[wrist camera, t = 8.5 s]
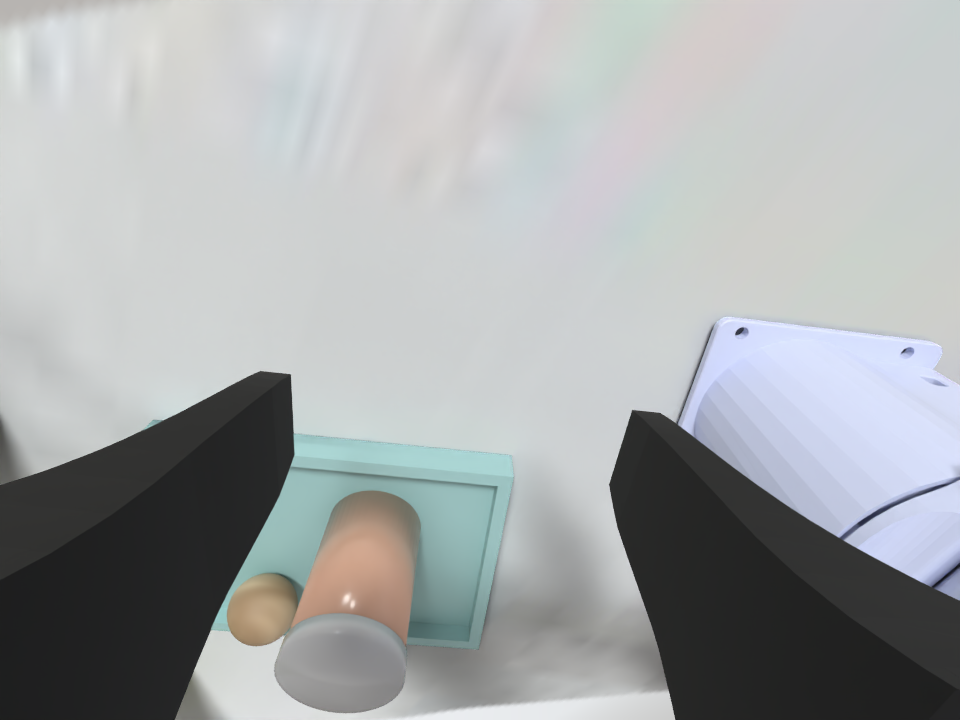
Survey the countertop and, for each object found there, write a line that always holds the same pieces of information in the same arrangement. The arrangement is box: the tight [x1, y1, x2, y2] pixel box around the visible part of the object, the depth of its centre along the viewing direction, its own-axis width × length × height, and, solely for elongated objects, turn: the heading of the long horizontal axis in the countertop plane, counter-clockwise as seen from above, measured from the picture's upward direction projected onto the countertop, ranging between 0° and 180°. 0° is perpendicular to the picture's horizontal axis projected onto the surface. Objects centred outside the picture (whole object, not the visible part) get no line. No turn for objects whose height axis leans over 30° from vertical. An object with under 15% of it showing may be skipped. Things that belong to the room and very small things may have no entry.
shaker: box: [274, 490, 421, 713], centre depth 21 cm, size 5×5×7 cm
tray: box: [144, 420, 514, 650], centre depth 25 cm, size 16×12×2 cm
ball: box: [227, 573, 298, 646], centre depth 25 cm, size 3×3×3 cm
